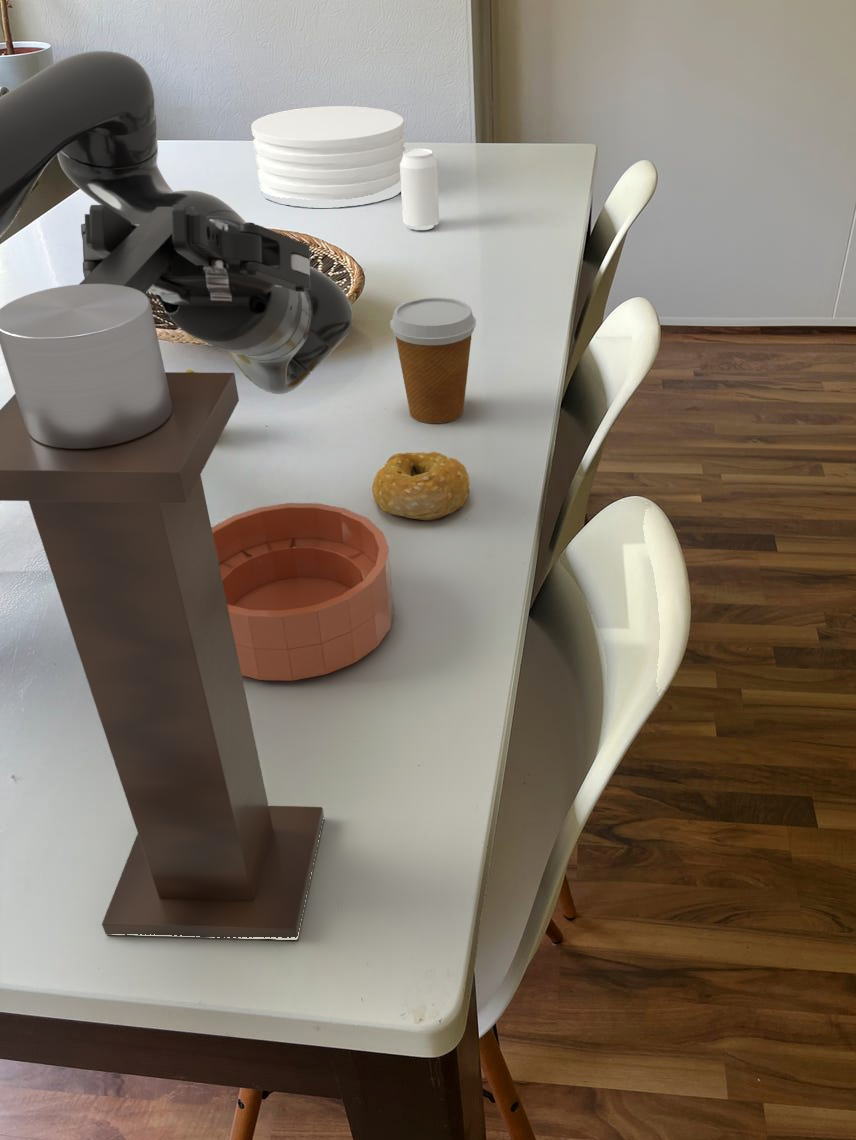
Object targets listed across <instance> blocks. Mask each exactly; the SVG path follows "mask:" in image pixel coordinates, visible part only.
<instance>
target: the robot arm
mask: <svg viewBox="0 0 856 1140" xmlns="http://www.w3.org/2000/svg"><path fill="white" fill-rule="evenodd" d="M158 147H159V143H158V128H157V108H156V98H155V93H154V88H153V84H152V80H151V78H150V76H149V74H148V73H147V70H146V69H145V67H143V66H142V64H140V63H139V62H138V61H137V60H136V59H134V58H133V57H131V56H129V55H127V54H124V53H121V52H116V51H108V50H93V51H92V50H91V51H86V52H82V53H81V52H80V53H77V54H74V55H73V54H72V55H70V56H68V57H66V58H63V59H61V60H58V61H56V62H54V63H52V64H50V65H49V66H47V67H45V68H43V69H42V70H41V71H38V72H37V73H36V74H34V75H33V76H31V77H29V78H28V79H26V80H25V81H23V82H22V83H20V84H18V85H17V86H16V87H13V88H11V90H9V91H8V92H6V93H4V94H3V95H1V96H0V239H1V238H2V237H3V236H4V235H5V233H6V232H7V231H8V229H9V228H10V227H11V225H12V223H13V222H14V220H15V219H16V217H17V216H18V214H19V213H20V212H21V209H22V208H23V205H25V202H26V201H27V198H28V197H29V196H30V194H31V192H32V190H33V189H34V187H35V185H36V183H37V182H38V181H39V178H40V177H41V176H42V173H43V172H44V170H45V169H46V168H47V166H48V165H49V164H50V162H51V161H52V160H53V159H54V158H55V157H56V156H57V160H58V163H59V165H60V167H61V169H62V171H63V173H64V174H65V175H66V177H67V178H68V179H69V180H70V181H71V182H72V183H73V184H74V185H75V186H76V187H77V188H78V189H79V190H81V191H82V192H83V193H84V194H86V195H87V196H88V197H89V198H91V199H92V200H93V201H95V202H96V203H98V204H90V207H89V211H88V212H89V213H85V214H84V223H81V224H80V230H81V231H80V233H81V234H80V235H81V239H82V256H83V257H82V259H83V262H82V273H83V278H84V279H85V278H86V277H87V276H88V275H89V274H90V273H91V272H92V271H93V270H94V269H95V268H96V267H97V266H98V265H99V264H100V263H101V262H102V261H103V260H104V259H105V258H106V257H107V256H108V255H109V254H110V253H111V252H112V251H113V250H114V249H115V248H116V247H117V246H118V245H119V244H120V243H121V242H122V241H123V240H124V239H125V238H126V237H127V236H128V235H129V234H130V233H131V232H132V231H133V230H134V229H136V228H137V227H138V226H139V225H140V224H141V223H142V222H143V221H144V220H145V219H146V218H147V217H148V216H149V215H150V214H151V213H152V212H153V211H154V210H155V209H156V208H157V207H172V240H173V246H174V249H175V251H176V252H178V253H179V254H178V255H177V257H176V258H175V259H174V260H173V261H172V263H171V264H170V265H169V266H168V267H167V268H166V270H165V271H164V272H163V273H162V274H161V275H160V277H159V278H158V279H157V280H156V281H155V283H154V284H153V285H152V286H151V287H150V288H149V290H148V291H147V292H148V293H152V294H155V295H156V297H157V299H158V300H159V302H160V305H161V306H162V308H163V309H164V311H165V312H166V314H167V316H168V317H169V318H170V319H171V321H172V322H173V324H175V326H177V327H179V329H180V330H182V331H183V332H185V334H188V335H189V336H192V337H193V338H195V339H198V340H200V341H202V342H204V343H206V344H209V345H211V346H213V347H215V348H218V349H219V350H222V351H224V352H227V353H229V354H230V356H231V358H232V360H233V362H234V364H235V365H236V367H237V368H238V369H239V370H240V372H241V373H242V374H243V376H245V377H246V379H248V380H249V381H250V382H251V383H252V384H253V385H255V386H256V387H258V388H259V389H261V390H263V391H265V392H267V393H271V394H274V395H283V394H288V393H290V392H292V391H295V390H296V389H297V388H298V387H300V386H301V385H302V384H303V383H304V382H305V381H306V380H307V379H308V378H309V377H310V376H311V374H312V373H313V372H314V371H316V369H317V368H318V367H319V366H320V365H321V364H322V363H323V362H324V360H326V358H328V357H329V355H330V354H332V352H333V351H334V350H335V349H336V348H337V347H338V346H339V345H340V344H341V343H342V342H343V341H344V339H345V338H347V336H348V334H349V333H350V332H351V330H352V326H353V323H354V321H353V320H354V314H353V308H352V305H351V302H350V300H349V297H348V295H347V294H346V292H345V291H344V290H343V289H342V288H341V286H339V284H337V282H335V280H334V279H332V278H330V277H329V276H328V275H326V274H325V273H323V272H321V271H320V270H318V269H316V268H315V267H312V266H311V251H310V248H311V247H310V245H308V244H307V243H304V242H301V241H299V240H296V239H294V238H291V237H289V236H286V235H284V234H281V233H279V232H277V231H274V230H271V229H269V228H266V227H264V226H262V225H259V224H255V223H254V222H248V221H246V220H245V219H243V218H242V216H241V215H240V214H239V213H237V212H236V210H234V208H232V207H231V206H230V205H229V204H227V203H225V202H224V201H223V200H222V199H220V198H218V197H216V196H214V195H212V194H209V193H206V192H203V191H199V190H192V189H191V190H176V191H174V190H173V189H172V188H171V187H170V186H169V184H168V183H167V181H166V180H165V178H164V176H163V175H162V173H161V171H160V169H159V167H158V157H159V148H158ZM191 207H196V208H197V212H196V211H194V210H193V209H192V208H191Z"/></svg>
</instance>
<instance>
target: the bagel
mask: <svg viewBox="0 0 856 1140" xmlns="http://www.w3.org/2000/svg"><path fill="white" fill-rule="evenodd" d="M470 484H471V481H470V477H469V473H468V471H467V469H466V467H465V465H464V464H463V463H461V461H459V460H458V459H457V458H452V457H448V456H447V455H445V454H441V453H440V452H436V451H432V452H431V451H430V452H405V453H401V452H400V453H396V454H392V455H391V456H390V457H389V458H388V460H386V463H385V464H384V466H383V467H382V468H379V470H378V471H377V473H376V474H375V476H374V479H373V483H372V487H371V488H372V489H371V491H372V495H373V499H374V501H375V503H376V504H377V506H378V507H379V508H381V510H382V511H383V512H384V513H388V514H391V515H394V516H399V517H404V518H407V519H412V520H413V519H414V520H421V521H433V520H437V519H440V518H443V517H446V516H449V515H451V514H453V513H455V512H456V511H457V510H459V509H460V508H462V507H463V506H464V504H465V502H466V501H467V497H468V495H469V494H470V492H471V488H470Z"/></svg>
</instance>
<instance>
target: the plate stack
mask: <svg viewBox="0 0 856 1140" xmlns="http://www.w3.org/2000/svg"><path fill="white" fill-rule="evenodd" d="M250 127H251V135H252V136H253V137H254V139H253V142H252V143H253V149H254V152H255V155H254V156H255V163H256V166H257V167H258V168H257V179H258V181H259V183H258V184H259V185H258V186H259V190H260V189H261V191H263V192H264V193H266V194H268V195H271V196H275V197H280V198H283V197H284V198H285V197H286V199H287V198H295V199H303V200H304V199H306V200H329V201H330V200H331V201H343V199H346V201H347V200H348V199H349V200H352V198H358V197H364V196H368V195H373V194H375V193H378V192H380V191H383V190H385V189H387V188H390V187H392V186H393V185H395V184H397V183H398V182H399V181H400V180H401V178H400V162H401V160H402V157H403V152H404V151H406V148H405V147H404V145H405V144H406V143H405V142H406V138H405V137H406V136H405V133H404V132H403V131H404V128H405V120H404V118H403V116H402V115H400V114H399V113H396V112H395V111H391V110H386V109H381V108H376V107H367V106H355V105H354V106H351V105H349V106H348V105H331V106H330V105H328V106H326V105H325V106H312V107H301V108H296V109H288V110H283V111H277V112H274V113H270V114H267V115H264V116H262V117H259V118H257V119H256V120H254V121H253V122H252V123H251V125H250Z"/></svg>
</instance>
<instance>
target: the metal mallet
mask: <svg viewBox="0 0 856 1140" xmlns="http://www.w3.org/2000/svg"><path fill="white" fill-rule="evenodd" d="M191 208H192V209H193V210H194V211H196V212H197V208H196V207H191ZM178 254H179V253H178V252H176V251H175V249H174V246H173V240H172V207H157V208H156V209H155V210H154V211H153V212H152V213H151V214H150V215H149V216H148V217H147V218H146V219H145V220H144V221H143V222H142V223H141V224H140V225H139V226H138V227H137V228H136V229H134V230H133V231H132V232H131V233H130V234H129V235H128V236H127V237H126V238H125V239H124V240H123V241H122V242H121V243H120V244H119V245H118V246H117V247H116V248H115V249H114V250H113V251H112V252H111V253H110V254H109V255H108V256H107V257H106V258H105V259H104V260H103V261H102V262H101V263H100V264H99V265H98V266H97V267H96V268H95V269H94V270H93V271H92V272H91V273H90V274H89V275H88V276H87V277H86V278H84V279H83V280H82V281H80V283H78V284H70V285H64V286H63V285H62V286H58V287H57V286H56V287H52V288H47V289H43V290H39V291H35V292H32V293H29V294H26V295H24V296H21V297H19V298H15V299H14V300H12V301H10V302H9V303H6V304H5V305H3V306H2V307H1V308H0V349H1V352H2V355H3V359H4V362H5V365H6V368H7V372H8V375H9V377H10V381H11V384H12V387H13V391H14V394H16V397H17V400H18V403H19V407H20V410H21V413H22V416H23V419H24V422H25V426H26V429H27V431H28V433H29V435H30V436H31V437H32V438H33V439H35V440H36V441H38V442H40V443H42V444H45V445H48V446H51V447H56V448H64V449H93V448H101V447H108V446H113V445H118V444H122V443H125V442H129V441H132V440H135V439H137V438H140V437H142V436H144V435H147V434H149V433H151V432H152V431H154V430H156V429H157V428H159V427H160V426H161V425H163V424H164V423H165V422H166V421H167V419H168V418H169V417H170V415H171V412H172V402H171V397H170V392H169V388H168V383H167V378H166V374H165V372H166V369H165V365H164V361H163V356H162V351H161V347H160V341H159V336H158V332H157V327H156V323H155V318H154V314H153V309H152V304H151V301H150V298H149V297H148V296H147V295H146V293H147V292H148V290H149V288H150V287H151V286H152V285H153V284H154V283H155V281H156V280H157V279H158V278H159V277H160V275H161V274H162V273H163V272H164V271H165V270H166V268H167V267H168V266H169V265H170V264H171V263H172V261H173V260H174V259H175V258H176V257H177V255H178Z"/></svg>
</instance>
